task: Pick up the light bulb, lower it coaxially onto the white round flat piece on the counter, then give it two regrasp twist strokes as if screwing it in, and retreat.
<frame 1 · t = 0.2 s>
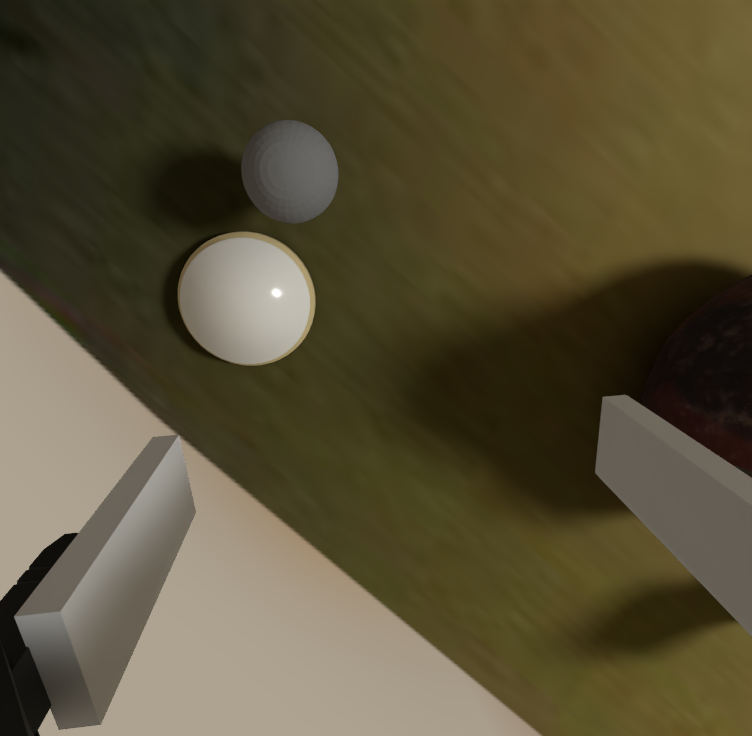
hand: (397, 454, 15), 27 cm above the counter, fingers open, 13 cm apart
white round flat piece: (249, 299, 40), on the counter
jug: (722, 381, 46), on the counter
light bulb: (298, 178, 37), on the counter
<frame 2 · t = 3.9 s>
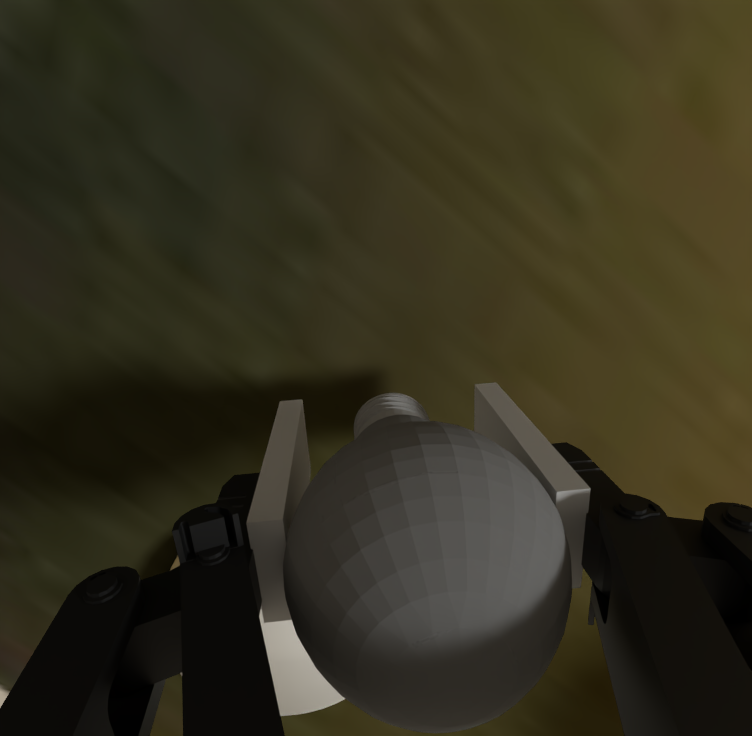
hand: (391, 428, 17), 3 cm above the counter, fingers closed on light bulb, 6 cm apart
white round flat piece: (286, 598, 23), on the counter
light bulb: (390, 419, 17), point 3 cm above the counter, touching gripper
when the fingers open (3 cm above the counter, at t = 7.7 s): light bulb stays where it is, resting on white round flat piece.
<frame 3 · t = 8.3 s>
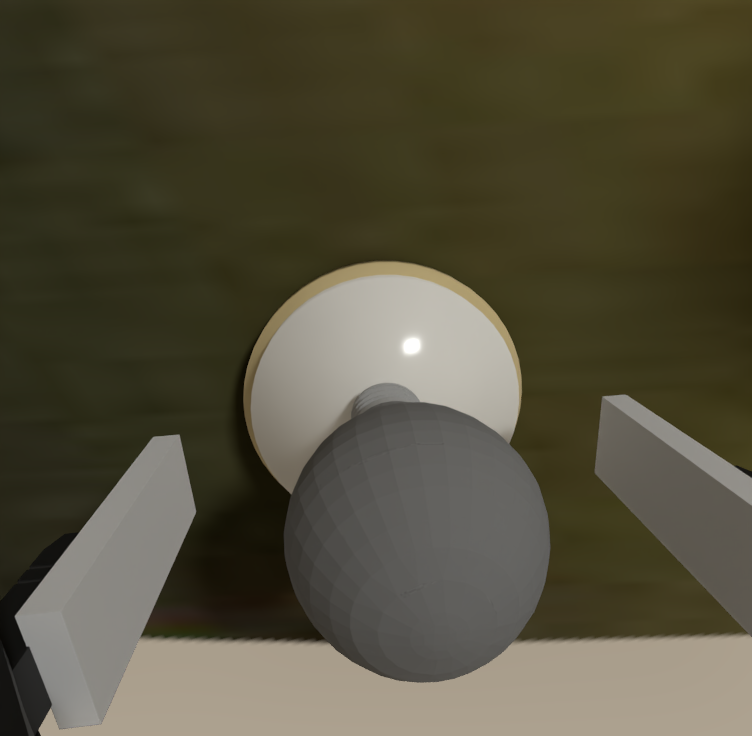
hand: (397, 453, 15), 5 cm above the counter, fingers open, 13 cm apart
white round flat piece: (383, 394, 20), on the counter
light bulb: (385, 408, 18), point 2 cm above the counter, touching white round flat piece
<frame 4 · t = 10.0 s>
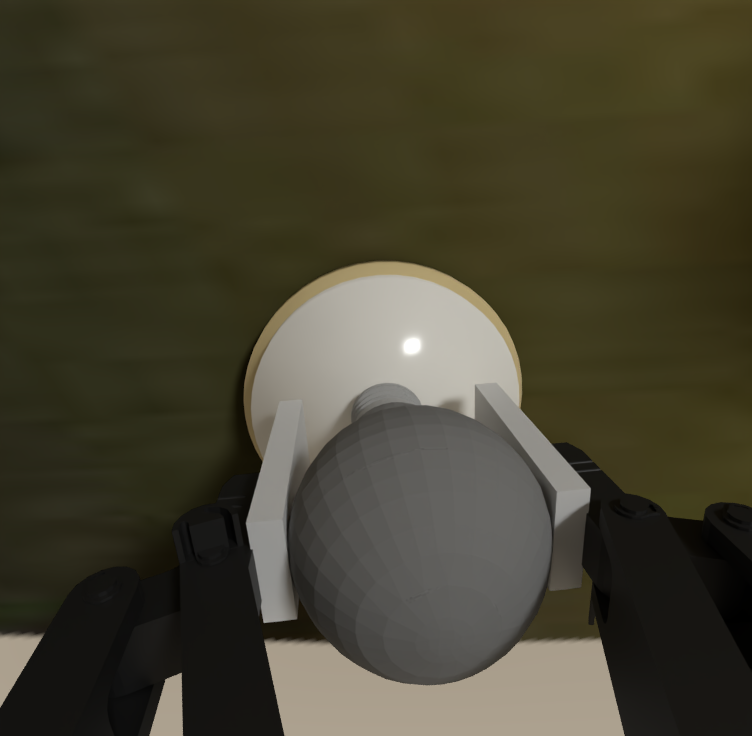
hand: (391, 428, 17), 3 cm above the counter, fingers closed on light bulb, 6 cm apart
white round flat piece: (383, 394, 20), on the counter
light bulb: (385, 408, 18), point 2 cm above the counter, touching gripper, white round flat piece
when the fingers open (4 cm above the counter, at t = 11.0 s): light bulb stays where it is, resting on white round flat piece.
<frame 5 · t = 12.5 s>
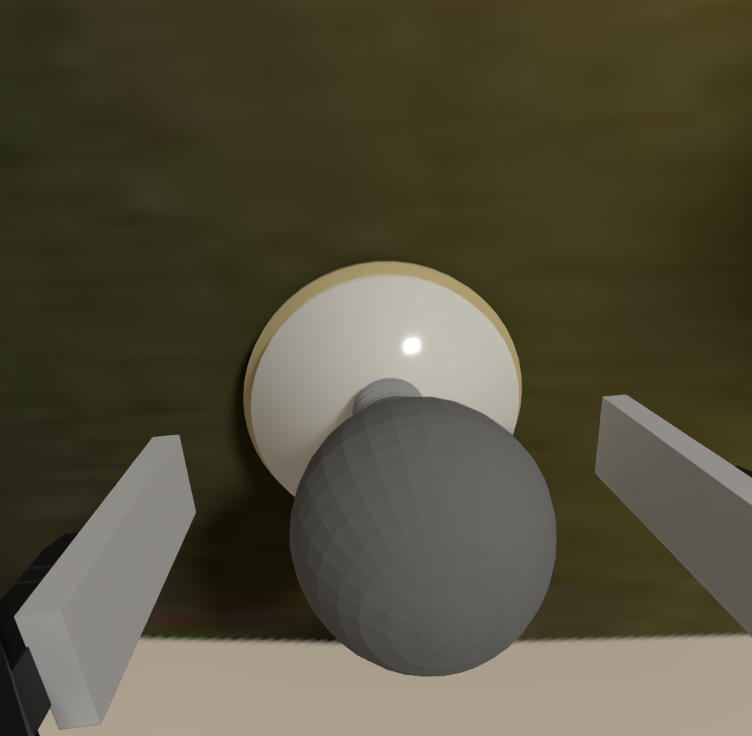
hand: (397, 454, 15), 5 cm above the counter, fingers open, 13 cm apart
white round flat piece: (383, 394, 20), on the counter
light bulb: (386, 403, 18), point 2 cm above the counter, touching white round flat piece
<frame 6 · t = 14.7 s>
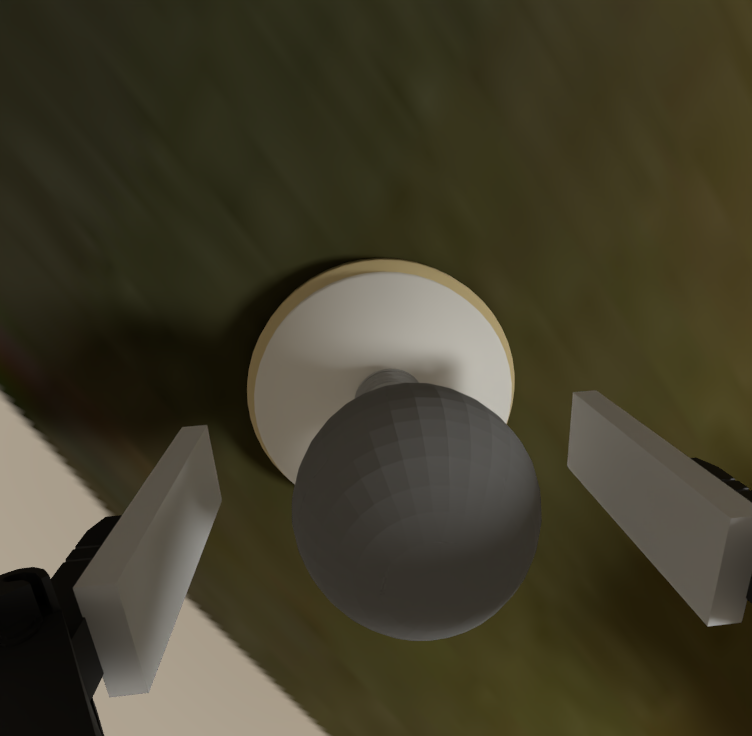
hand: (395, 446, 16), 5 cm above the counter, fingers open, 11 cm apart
white round flat piece: (381, 387, 20), on the counter
light bulb: (387, 394, 19), point 2 cm above the counter, touching white round flat piece
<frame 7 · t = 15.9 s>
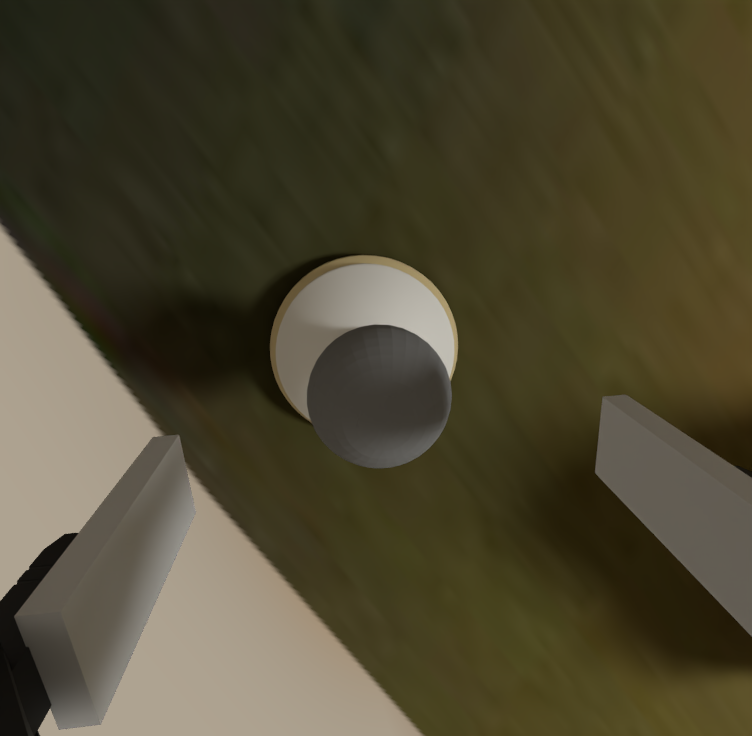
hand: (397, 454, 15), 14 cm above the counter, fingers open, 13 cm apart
white round flat piece: (364, 347, 29), on the counter
light bulb: (368, 348, 27), point 2 cm above the counter, touching white round flat piece
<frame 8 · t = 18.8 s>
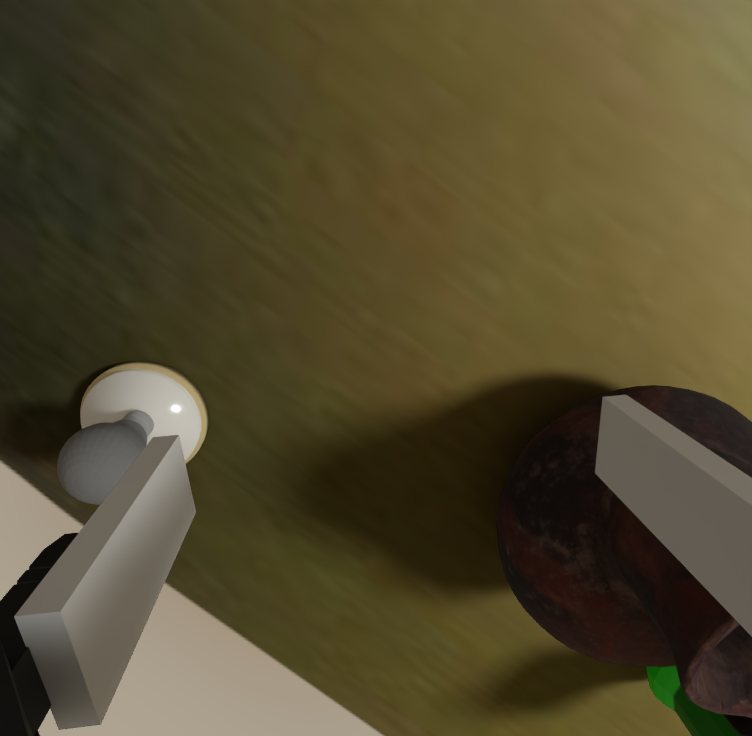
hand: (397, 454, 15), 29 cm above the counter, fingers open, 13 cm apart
white round flat piece: (148, 416, 44), on the counter
jug: (591, 474, 51), on the counter
plastic bottle: (668, 642, 59), on the counter
light bulb: (141, 420, 43), point 2 cm above the counter, touching white round flat piece
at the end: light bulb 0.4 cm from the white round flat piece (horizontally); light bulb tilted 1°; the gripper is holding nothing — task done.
